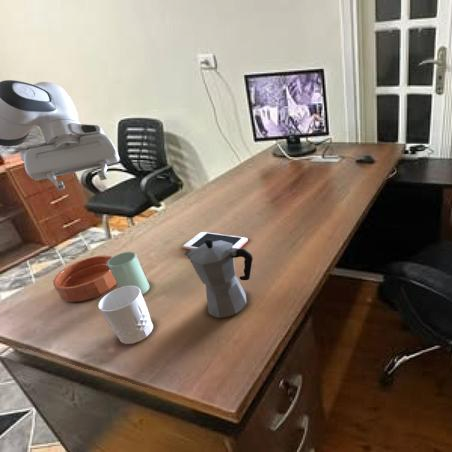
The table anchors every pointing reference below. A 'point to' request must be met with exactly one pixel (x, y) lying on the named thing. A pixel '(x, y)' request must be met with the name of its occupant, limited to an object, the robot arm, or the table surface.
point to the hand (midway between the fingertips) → (82, 183)
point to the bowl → (85, 279)
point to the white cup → (127, 314)
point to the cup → (128, 271)
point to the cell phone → (202, 236)
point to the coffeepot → (221, 275)
